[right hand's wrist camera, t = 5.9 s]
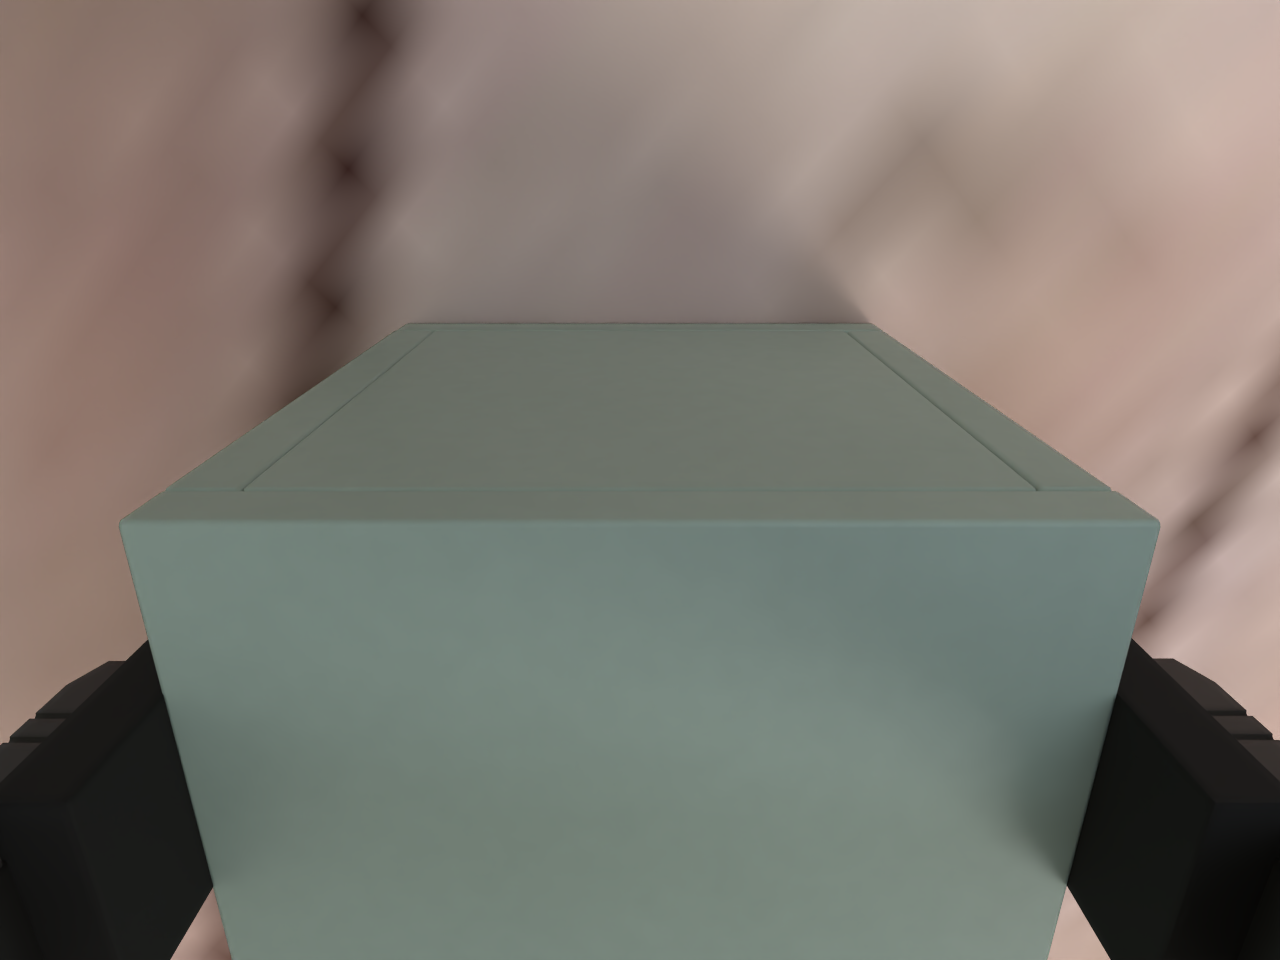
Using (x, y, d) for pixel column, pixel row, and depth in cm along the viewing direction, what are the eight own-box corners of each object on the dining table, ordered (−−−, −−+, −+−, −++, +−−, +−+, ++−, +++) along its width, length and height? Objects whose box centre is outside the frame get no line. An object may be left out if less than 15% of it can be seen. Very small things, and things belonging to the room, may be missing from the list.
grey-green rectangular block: (810, 917, 24) (926, 1428, 14) (468, 918, 24) (352, 1430, 14) (874, 322, 17) (1166, 520, 8) (404, 322, 17) (113, 520, 8)
